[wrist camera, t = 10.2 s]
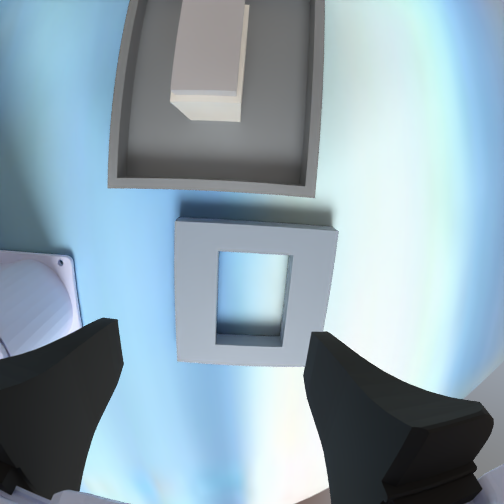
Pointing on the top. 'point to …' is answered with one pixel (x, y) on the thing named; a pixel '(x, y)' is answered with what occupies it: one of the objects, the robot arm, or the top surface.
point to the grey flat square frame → (206, 289)
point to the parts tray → (221, 132)
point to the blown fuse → (210, 59)
